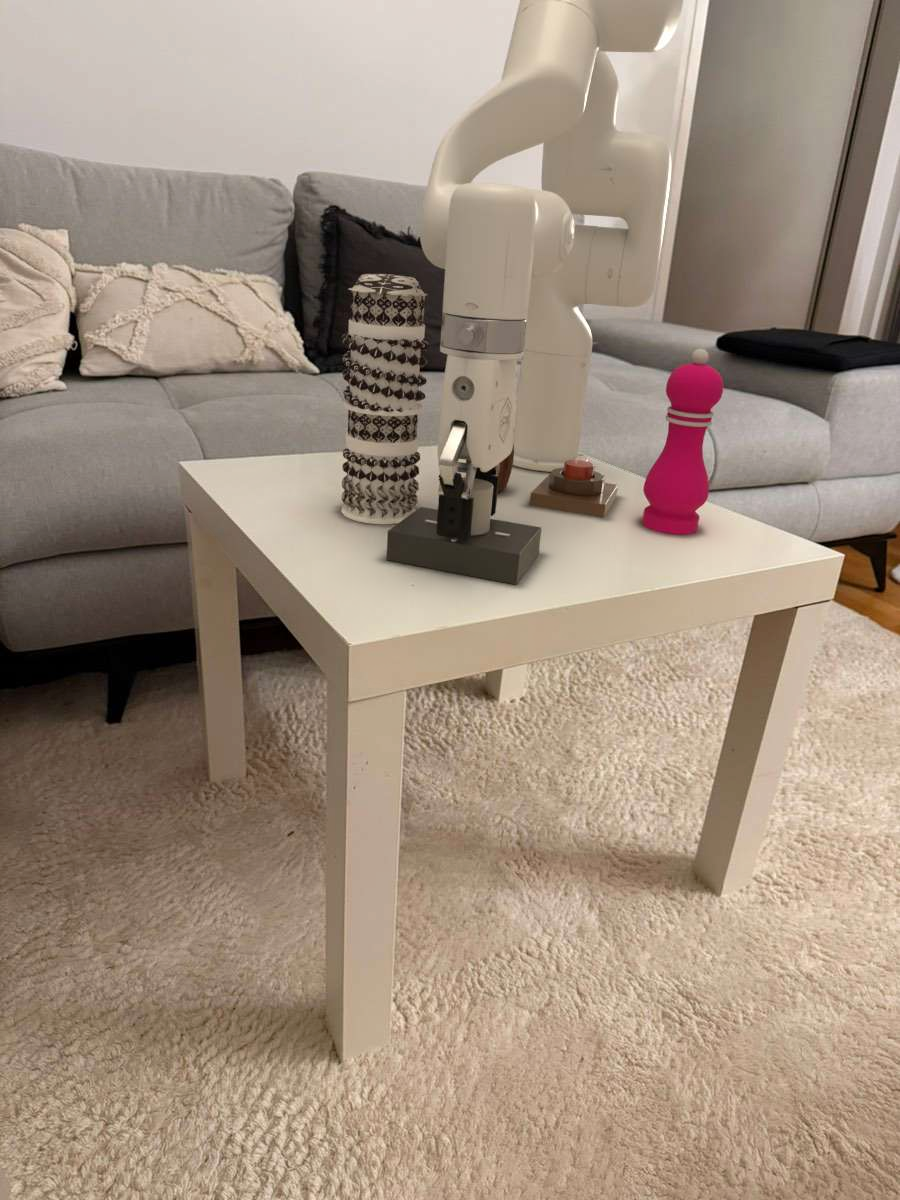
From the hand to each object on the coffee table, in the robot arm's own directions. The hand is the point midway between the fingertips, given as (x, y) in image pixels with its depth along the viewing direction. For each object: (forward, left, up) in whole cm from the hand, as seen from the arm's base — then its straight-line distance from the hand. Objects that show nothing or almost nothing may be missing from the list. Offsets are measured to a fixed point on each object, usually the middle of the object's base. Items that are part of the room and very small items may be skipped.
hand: (467, 523), depth 83 cm
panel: (0, 0, -4) cm, 4 cm away
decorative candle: (-9, -13, -4) cm, 16 cm away
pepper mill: (-22, +18, -4) cm, 29 cm away
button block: (-26, +6, -4) cm, 27 cm away
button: (-26, +6, 0) cm, 27 cm away
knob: (0, 0, 0) cm, 0 cm away
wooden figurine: (-25, -5, -4) cm, 26 cm away
